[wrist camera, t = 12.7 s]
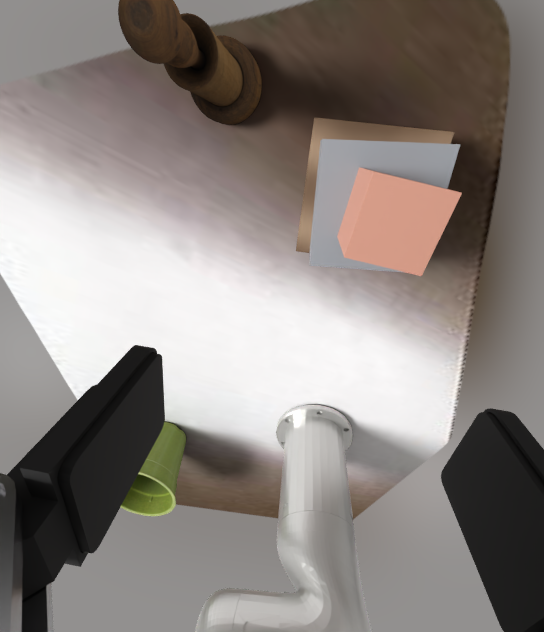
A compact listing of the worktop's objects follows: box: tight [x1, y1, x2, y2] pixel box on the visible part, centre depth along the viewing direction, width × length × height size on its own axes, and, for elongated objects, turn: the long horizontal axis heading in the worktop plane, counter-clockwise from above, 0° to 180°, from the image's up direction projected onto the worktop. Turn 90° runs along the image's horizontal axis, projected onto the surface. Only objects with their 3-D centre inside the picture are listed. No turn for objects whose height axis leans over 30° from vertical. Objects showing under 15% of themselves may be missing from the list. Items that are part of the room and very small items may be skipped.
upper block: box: [310, 139, 460, 272], centre depth 27 cm, size 10×10×5 cm
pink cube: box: [337, 167, 462, 276], centre depth 22 cm, size 6×6×6 cm
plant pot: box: [121, 422, 186, 516], centre depth 51 cm, size 12×12×11 cm
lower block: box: [296, 118, 454, 253], centre depth 31 cm, size 12×12×5 cm
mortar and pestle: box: [118, 0, 262, 125], centre depth 22 cm, size 7×6×18 cm
